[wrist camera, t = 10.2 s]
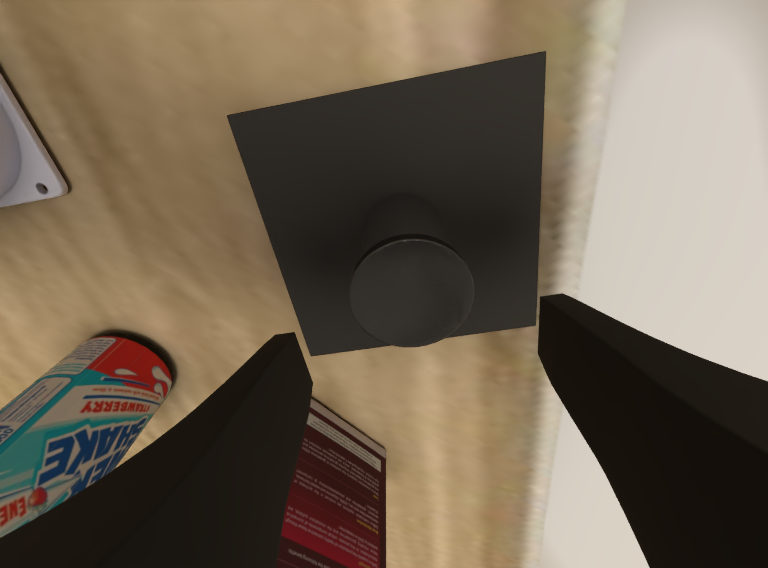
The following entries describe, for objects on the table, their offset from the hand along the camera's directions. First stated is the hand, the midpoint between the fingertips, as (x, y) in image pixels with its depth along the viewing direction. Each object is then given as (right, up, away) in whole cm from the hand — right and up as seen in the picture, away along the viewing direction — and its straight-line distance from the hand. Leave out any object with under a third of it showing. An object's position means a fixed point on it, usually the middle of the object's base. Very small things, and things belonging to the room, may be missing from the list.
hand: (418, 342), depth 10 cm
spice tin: (0, +4, +8) cm, 9 cm away
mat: (0, +4, +8) cm, 9 cm away
